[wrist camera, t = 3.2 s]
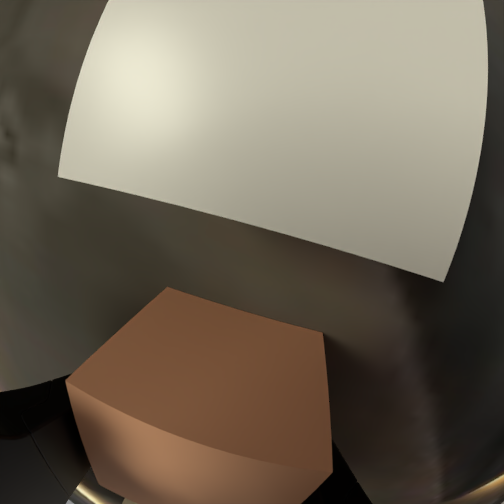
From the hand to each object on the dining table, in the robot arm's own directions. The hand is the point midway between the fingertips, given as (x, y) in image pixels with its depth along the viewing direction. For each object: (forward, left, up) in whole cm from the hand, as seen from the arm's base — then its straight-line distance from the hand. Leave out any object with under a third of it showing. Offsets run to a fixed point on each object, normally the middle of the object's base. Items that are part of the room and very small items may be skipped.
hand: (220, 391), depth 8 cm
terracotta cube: (0, 0, -1) cm, 1 cm away
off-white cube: (+5, +7, -1) cm, 9 cm away
